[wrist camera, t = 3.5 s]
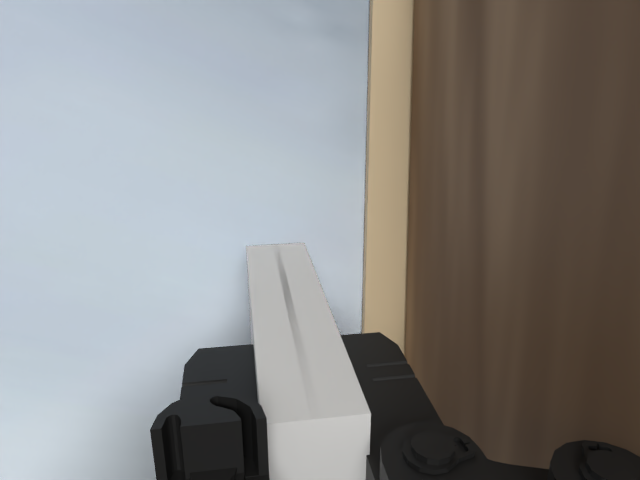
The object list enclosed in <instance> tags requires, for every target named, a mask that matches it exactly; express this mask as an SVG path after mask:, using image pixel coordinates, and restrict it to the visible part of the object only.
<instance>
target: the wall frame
mask: <svg viewBox="0 0 640 480" xmlns="http://www.w3.org/2000/svg"><path fill="white" fill-rule="evenodd" d="M413 38H414V0H370V15H369V56H368V98H367V139H366V180H365V222H364V263H363V304H362V334H363V333H375V332H380V333H382V334H383V335H385V336H386V337H388V338H389V339H390V340H392V341H393V342H395V343H396V344H398V346H399V347H400V349H401V351H402V353H403V354H404V356H405V341H406V303H407V265H408V228H409V190H410V152H411V114H412V76H413Z"/></svg>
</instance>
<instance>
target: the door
mask: <svg viewBox="0 0 640 480" xmlns="http://www.w3.org/2000/svg"><path fill="white" fill-rule="evenodd" d="M405 358H406V360H407V364H409V365H410V367H411V368H412V370H413V372H414V374H415V378H417V379H418V381H419V382H420V384H421V386H422V388H423V389H424V391H425V393H426V395H427V396H428V398H429V400H430V401H431V403H432V405H433V407H434V408H435V410H436V412H437V414H438V415H439V417H440V419H441V421H442V422H443V424H444V425H445V426H449V427H452V428H455V429H456V430H458V431H460V432H462V433H463V434H465V435H467V436H469V437H470V438H471V439H472V440H473V441H474V442H475V443H476V444H477V445H478V446H479V448H480V449H481V450H482V451H483V453H484V455H485V456H486V458H487V459H489V460H492V461H496V462H501V463H506V464H512V465H519V466H527V467H535V468H543V469H549V466H550V461H551V459H552V456H553V453H554V451H555V450H556V449H558V448H559V447H561V446H562V445H564V444H565V443H568V442H574V441H581V440H589V441H597V442H605V443H608V444H611V445H614V446H617V447H620V448H623V449H626V450H628V451H630V452H632V453H634V454H635V455H637V456H639V457H640V0H414V38H413V76H412V114H411V152H410V190H409V228H408V265H407V303H406V341H405Z"/></svg>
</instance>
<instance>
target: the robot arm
mask: <svg viewBox="0 0 640 480" xmlns="http://www.w3.org/2000/svg"><path fill="white" fill-rule="evenodd" d="M246 254H247V273H248V293H249V312H250V331H251V345H239V346H227V347H215V348H202V349H198V350H197V351H196V352H195V354H194V355H193V356H192V357H191V358H190V360H189V361H188V362H187V363H186V364H185V367H184V374H183V381H182V388H181V396H180V400H178V401H176V402H174V403H172V404H170V405H169V406H168V407H167V408H166V409H165V410H163V411H162V412H161V413H160V414H159V415H158V416H157V417H156V419H155V421H154V423H153V425H152V427H151V429H150V432H151V440H152V448H153V456H154V463H155V471H156V479H157V480H640V457H639V456H637V455H635V454H634V453H632V452H630V451H628V450H626V449H623V448H620V447H617V446H614V445H611V444H608V443H605V442H597V441H589V440H581V441H574V442H568V443H565V444H564V445H562V446H561V447H559V448H558V449H556V450H555V451H554V453H553V456H552V459H551V461H550V466H549V469H543V468H535V467H527V466H519V465H512V464H506V463H501V462H496V461H492V460H489V459H487V458H486V456H485V455H484V453H483V451H482V450H481V449H480V448H479V446H478V445H477V444H476V443H475V442H474V441H473V440H472V439H471V438H470V437H469V436H467V435H465V434H463V433H462V432H460V431H458V430H456V429H455V428H452V427H449V426H445V425H444V424H443V422H442V421H441V419H440V417H439V415H438V414H437V412H436V410H435V408H434V407H433V405H432V403H431V401H430V400H429V398H428V396H427V395H426V393H425V391H424V389H423V388H422V386H421V384H420V382H419V381H418V379H417V378H415V374H414V372H413V370H412V368H411V367H410V365H409V364H407V360H406V358H405V356H404V354H403V353H402V351H401V349H400V347H399V346H398V344H396V343H395V342H393V341H392V340H390V339H389V338H388V337H386V336H385V335H383V334H382V333H380V332H375V333H363V334H350V335H340V333H339V330H338V328H337V325H336V323H335V320H334V318H333V315H332V312H331V310H330V307H329V305H328V302H327V300H326V297H325V294H324V292H323V289H322V287H321V284H320V282H319V279H318V277H317V274H316V271H315V269H314V266H313V264H312V261H311V259H310V256H309V254H308V251H307V248H306V246H305V243H289V244H271V245H253V246H246Z"/></svg>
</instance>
